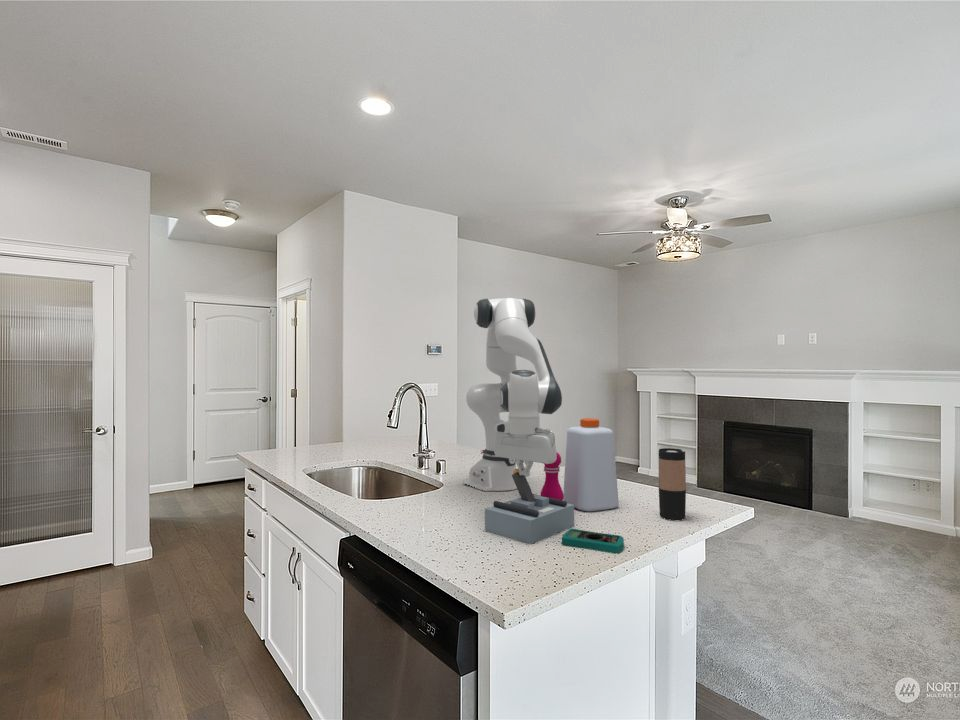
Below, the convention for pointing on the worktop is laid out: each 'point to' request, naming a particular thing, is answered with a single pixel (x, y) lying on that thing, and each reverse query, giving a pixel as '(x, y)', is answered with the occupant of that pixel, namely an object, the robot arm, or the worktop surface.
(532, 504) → the box
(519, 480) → the breaker lever
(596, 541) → the digital multimeter
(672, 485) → the travel mug
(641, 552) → the worktop surface
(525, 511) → the dark parallel rails
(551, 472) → the pepper mill
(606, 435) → the plastic bottle
